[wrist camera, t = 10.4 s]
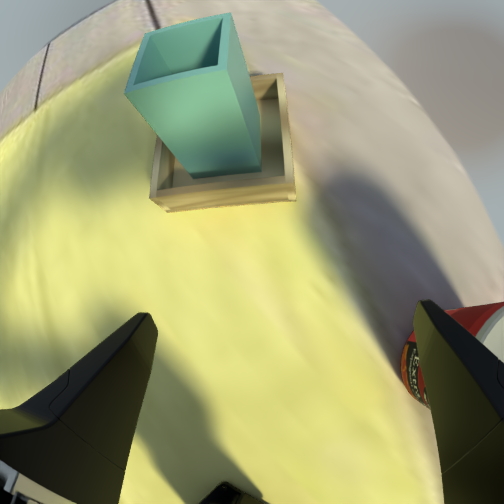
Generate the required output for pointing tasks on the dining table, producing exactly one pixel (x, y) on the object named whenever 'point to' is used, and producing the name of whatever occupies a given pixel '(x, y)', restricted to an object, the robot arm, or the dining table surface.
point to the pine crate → (239, 185)
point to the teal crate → (199, 96)
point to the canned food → (472, 319)
